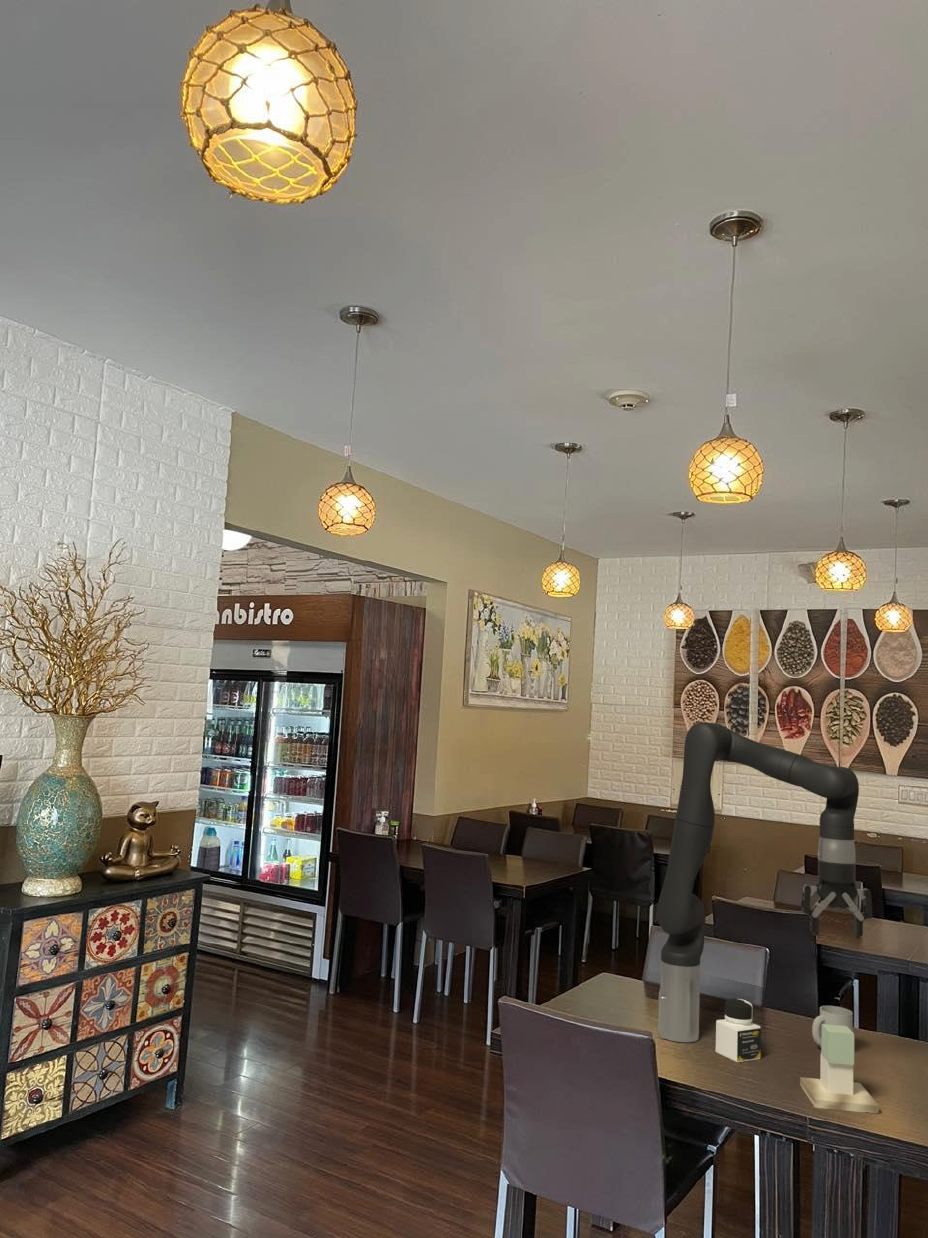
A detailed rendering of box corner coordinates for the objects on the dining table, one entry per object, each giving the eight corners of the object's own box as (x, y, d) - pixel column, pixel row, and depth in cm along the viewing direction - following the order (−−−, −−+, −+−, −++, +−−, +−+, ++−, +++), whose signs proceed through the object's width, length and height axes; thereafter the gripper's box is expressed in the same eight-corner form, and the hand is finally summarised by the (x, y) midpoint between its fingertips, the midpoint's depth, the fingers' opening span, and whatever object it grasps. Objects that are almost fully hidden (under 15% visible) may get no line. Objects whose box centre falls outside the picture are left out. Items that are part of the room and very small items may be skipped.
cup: (859, 1054, 215) (859, 1014, 216) (822, 1056, 213) (823, 1016, 214) (838, 1044, 222) (838, 1005, 223) (802, 1046, 219) (803, 1006, 220)
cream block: (827, 1092, 186) (827, 1061, 187) (820, 1083, 191) (820, 1053, 192) (853, 1095, 186) (853, 1063, 187) (845, 1085, 191) (845, 1055, 192)
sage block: (828, 1063, 186) (828, 1031, 187) (821, 1054, 191) (821, 1024, 192) (854, 1065, 186) (854, 1034, 187) (846, 1056, 191) (846, 1026, 192)
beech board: (815, 1108, 182) (815, 1100, 182) (800, 1085, 194) (800, 1077, 194) (878, 1114, 181) (878, 1105, 181) (859, 1090, 193) (859, 1083, 193)
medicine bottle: (737, 1063, 205) (738, 1007, 207) (714, 1052, 212) (715, 998, 213) (761, 1059, 209) (762, 1004, 210) (738, 1049, 215) (739, 995, 216)
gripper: (807, 859, 199) (806, 937, 197) (876, 864, 197) (876, 943, 195) (798, 855, 206) (797, 930, 204) (865, 859, 204) (865, 935, 203)
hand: (836, 936), depth 200 cm, fingers open, 8 cm apart
